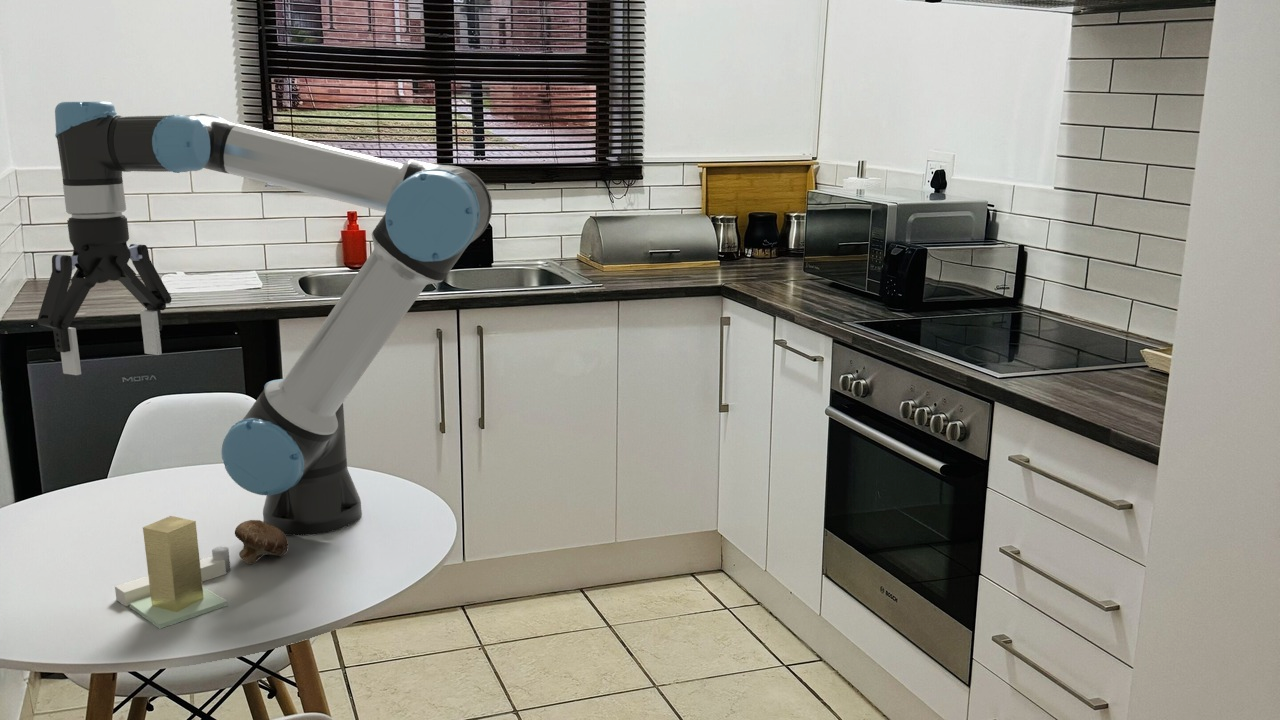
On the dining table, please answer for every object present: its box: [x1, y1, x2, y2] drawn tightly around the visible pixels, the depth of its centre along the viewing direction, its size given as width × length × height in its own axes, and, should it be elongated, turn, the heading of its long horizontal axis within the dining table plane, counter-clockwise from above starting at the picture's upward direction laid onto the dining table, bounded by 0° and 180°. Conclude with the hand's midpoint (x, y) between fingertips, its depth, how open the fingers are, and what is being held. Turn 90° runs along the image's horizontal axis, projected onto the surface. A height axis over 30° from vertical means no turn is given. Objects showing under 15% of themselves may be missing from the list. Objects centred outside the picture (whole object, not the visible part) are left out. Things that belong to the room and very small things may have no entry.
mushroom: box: [234, 519, 289, 565], centre depth 160 cm, size 8×8×6 cm
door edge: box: [114, 546, 231, 607], centre depth 151 cm, size 15×3×3 cm, turn 137°
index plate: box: [129, 585, 228, 629], centre depth 145 cm, size 9×9×1 cm
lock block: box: [142, 515, 204, 612], centre depth 144 cm, size 4×4×11 cm
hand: (114, 363), depth 157 cm, fingers open, 13 cm apart
